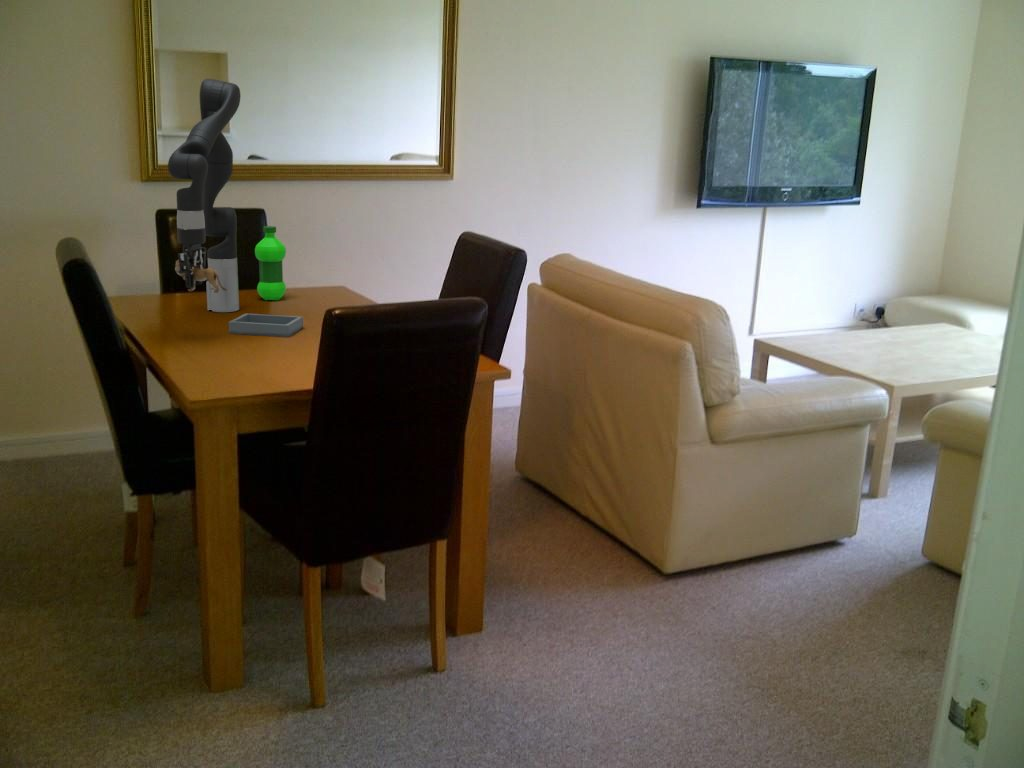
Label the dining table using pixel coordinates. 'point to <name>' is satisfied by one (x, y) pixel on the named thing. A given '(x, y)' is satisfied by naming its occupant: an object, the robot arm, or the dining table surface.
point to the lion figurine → (202, 276)
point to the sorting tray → (266, 325)
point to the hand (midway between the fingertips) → (194, 285)
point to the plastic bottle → (270, 265)
